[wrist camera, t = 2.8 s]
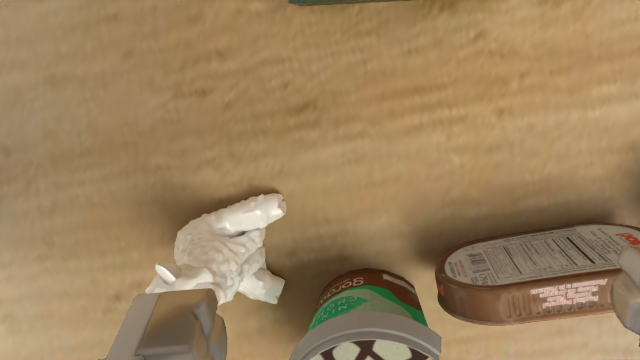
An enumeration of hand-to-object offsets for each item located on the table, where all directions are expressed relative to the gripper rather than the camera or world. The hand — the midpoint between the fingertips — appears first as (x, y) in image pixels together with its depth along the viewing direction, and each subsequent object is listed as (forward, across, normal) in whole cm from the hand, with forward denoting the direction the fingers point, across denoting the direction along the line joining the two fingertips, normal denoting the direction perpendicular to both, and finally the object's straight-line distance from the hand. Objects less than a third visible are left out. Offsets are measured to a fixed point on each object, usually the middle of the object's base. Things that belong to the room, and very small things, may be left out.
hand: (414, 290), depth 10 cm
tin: (+22, +13, -17) cm, 30 cm away
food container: (+22, -2, -21) cm, 31 cm away
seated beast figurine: (+24, -10, -16) cm, 31 cm away
